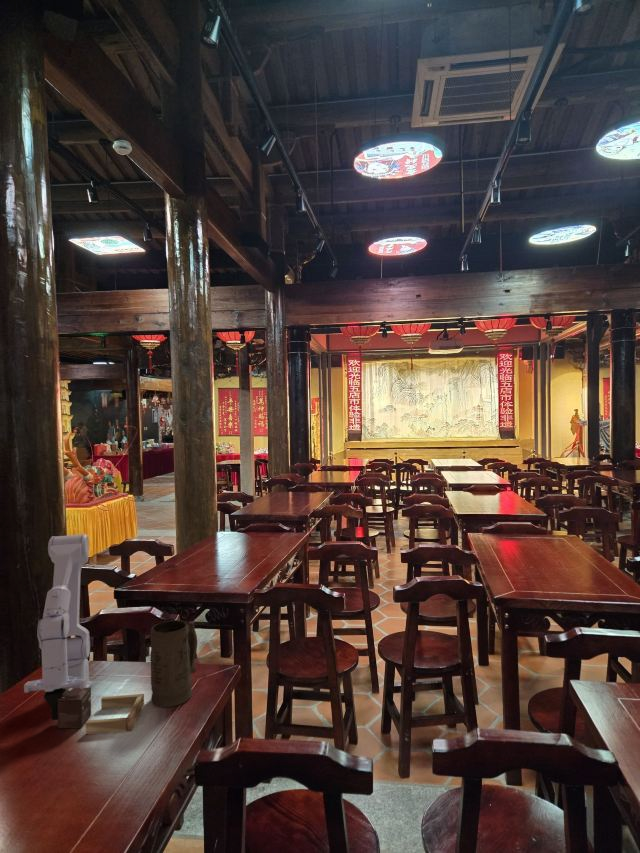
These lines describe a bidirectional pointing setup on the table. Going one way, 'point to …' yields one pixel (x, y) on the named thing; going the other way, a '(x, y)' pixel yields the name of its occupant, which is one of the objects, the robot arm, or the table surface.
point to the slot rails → (117, 723)
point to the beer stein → (172, 662)
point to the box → (74, 707)
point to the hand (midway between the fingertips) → (56, 717)
